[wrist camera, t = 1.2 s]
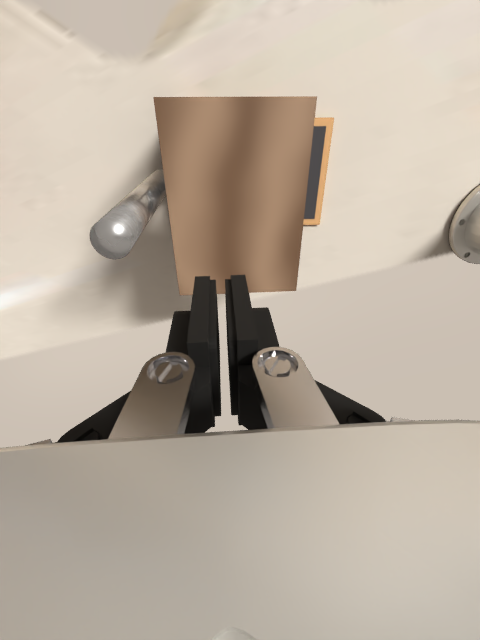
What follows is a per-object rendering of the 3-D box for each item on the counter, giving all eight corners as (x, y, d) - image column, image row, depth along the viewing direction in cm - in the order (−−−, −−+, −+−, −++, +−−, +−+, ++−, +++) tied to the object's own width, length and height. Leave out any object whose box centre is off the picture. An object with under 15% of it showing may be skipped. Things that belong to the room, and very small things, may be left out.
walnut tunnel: (275, 105, 34) (316, 96, 20) (269, 233, 42) (296, 290, 28) (178, 105, 33) (153, 97, 19) (191, 235, 41) (179, 295, 27)
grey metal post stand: (274, 127, 34) (339, 139, 16) (270, 221, 39) (314, 304, 22) (143, 129, 33) (62, 142, 15) (157, 224, 39) (110, 312, 21)
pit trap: (332, 117, 35) (334, 117, 34) (318, 223, 41) (319, 224, 41) (280, 118, 34) (281, 118, 34) (274, 224, 41) (275, 225, 41)
